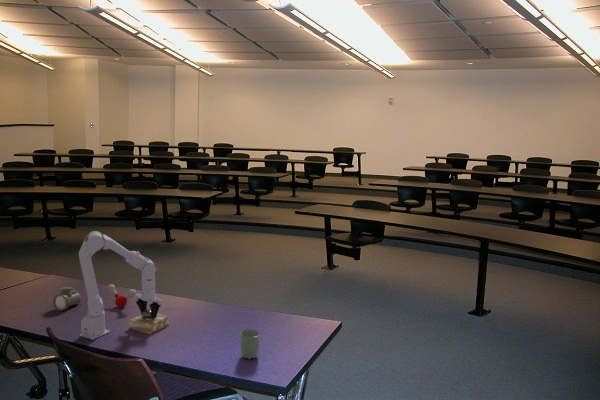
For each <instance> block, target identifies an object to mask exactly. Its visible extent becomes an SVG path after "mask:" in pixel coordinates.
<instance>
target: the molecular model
mask: <svg viewBox="0 0 600 400" xmlns="http://www.w3.org/2000/svg"><path fill="white" fill-rule="evenodd" d="M107 291H108V292H110V293H112V294H113V296H114V297H115V301H114V302H115V305H116V307H118V308H123V307H125V306H126V305H127V303H128V299H130V298H135V294H137V291H136V290H135V289H129V290H128V294H125V295H119V293H118V291H117V290H116V286H115V285H114V284H109V285H108V286H107Z"/></svg>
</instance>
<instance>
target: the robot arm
mask: <svg viewBox="0 0 600 400" xmlns="http://www.w3.org/2000/svg"><path fill="white" fill-rule="evenodd" d="M102 249H103V250H111V251H113V252H115V253H117V254H118V255H120V256H121V257H123V258H125V261H126V263H128V264H129V265H131V266H132V267H133V268H136V269H137V270H139V271H141V293H136V294H135V296H134V299H135V300H136V301H135V303H136V305H137V306H138V308H139V310H140V311H139V312H140V315H142V311H143V310H145V309H148V308H147V307H148V306H149V307H150V308H149V309H151V314H152V319H155V318H156V317H157V313H158V312H159V309H160V307H161V305H163V304H164V299H162V298H160V297H157V294H156V272H157V268H156V265H155V263H154V261H152V260H151V258H149V257H145V256H144V255H142V254H141V253H140V251H138V250H137V251H135V250H128V249H127V248H126V247H124V246H122V245H121V244H120V243H118V242H117V241H116V240H114V239H112V237H110V236H108V235H106V234H102V232H100V231H98V230H93V231H90V232H89V233H88V234H87V235H86V236H85V237H84V240H83V242H82V245H81V247H80V248H79V251H78V259H79V264H80V267H81V268H80V269H81V272H82V276H83V282H84V286H85V291H86V295H87V301H86V303H87V312H86V315H85V316H84V317H83V318H82V319H81V321H80V334H79V336H80V337H83V338H86V339H89V340H96V339H97V338H99V337H102V336H104V335H106V334H109V333H111V330H109V329H106V311H105V306H104V300H103V297H101V296H100V293H99V289H98V284H97V280H96V274H95V269H94V265H93V262H92V257H93V255H94V254H95V253H96V252H99V251H100V250H102ZM148 302H150V304H149V305H148ZM147 305H148V306H147ZM158 314H159V313H158ZM142 316H143V315H142Z"/></svg>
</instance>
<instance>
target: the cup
mask: <svg viewBox="0 0 600 400" xmlns="http://www.w3.org/2000/svg"><path fill="white" fill-rule="evenodd" d="M260 336H261V334H260V331H259V330H257V329H252V328H251V329H250V328H247V329H244V330H241V331H240V332H239V350H240V354H241V356H242V357H243V358H244V359H246V358H248V359H247V360H252V359H251V358H253V359H255V358H257V356H258V355H259V353H260V352H259V351H260V343H261V341H260V339H261V337H260Z"/></svg>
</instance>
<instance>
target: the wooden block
mask: <svg viewBox="0 0 600 400" xmlns="http://www.w3.org/2000/svg"><path fill="white" fill-rule="evenodd" d="M169 318H170V317H169V315H165V314H161V313H157V317H156V318H155V319H152V320H150V321H148V320H145V318H143V316H142V315H141V314H139V315H137V316H135V317H133V318H130V319H128V324H129V325H128V329H130V330H134V331H137V332H141V333H144V334H146V335H147V334H148V335H151V334H154V333H156V332H157V331H159V330H162V329H164V328H165V327H167V326H169V325H170V322H169V321H170V320H169Z"/></svg>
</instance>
